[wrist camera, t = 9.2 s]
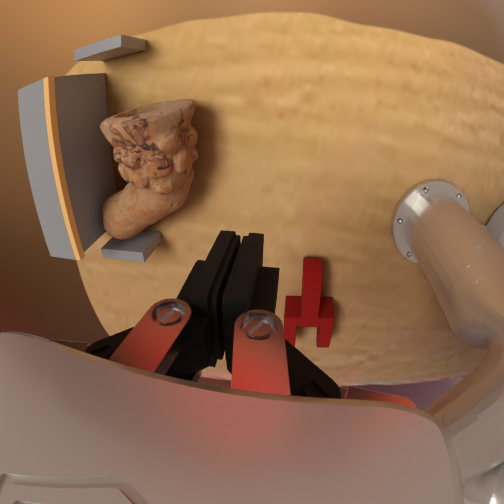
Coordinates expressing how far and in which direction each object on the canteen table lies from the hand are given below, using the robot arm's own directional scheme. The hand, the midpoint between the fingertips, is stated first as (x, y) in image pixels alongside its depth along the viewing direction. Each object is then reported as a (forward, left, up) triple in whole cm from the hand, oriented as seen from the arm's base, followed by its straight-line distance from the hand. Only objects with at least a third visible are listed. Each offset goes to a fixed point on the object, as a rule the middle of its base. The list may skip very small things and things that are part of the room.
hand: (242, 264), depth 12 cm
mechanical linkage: (-6, +22, -26) cm, 34 cm away
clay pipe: (+16, +1, -25) cm, 30 cm away
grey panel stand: (+22, 0, -25) cm, 34 cm away
